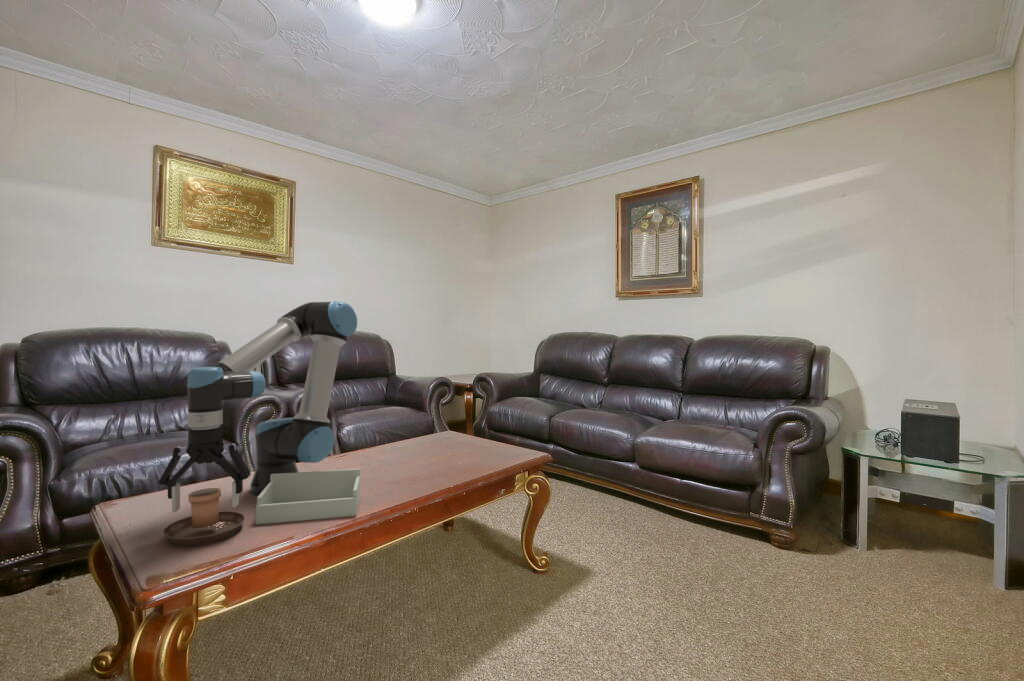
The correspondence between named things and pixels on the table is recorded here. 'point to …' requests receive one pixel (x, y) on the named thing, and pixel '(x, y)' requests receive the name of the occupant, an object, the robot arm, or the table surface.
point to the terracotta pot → (205, 507)
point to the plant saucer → (203, 530)
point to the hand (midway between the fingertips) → (206, 508)
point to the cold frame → (309, 496)
